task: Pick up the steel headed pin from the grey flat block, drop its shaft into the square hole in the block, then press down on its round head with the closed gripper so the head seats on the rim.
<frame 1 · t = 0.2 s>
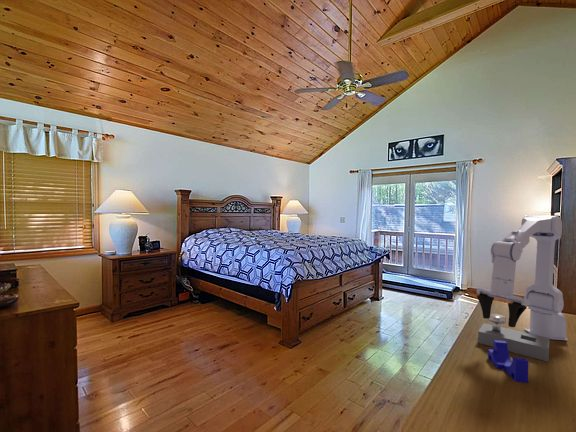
hand: (498, 322, 92), 10 cm above the table, tool pointing down, fingers open, 7 cm apart
grey flat block: (512, 346, 98), on the table
cable clip: (506, 370, 84), on the table
headed pin: (496, 330, 101), point 4 cm above the table, touching grey flat block
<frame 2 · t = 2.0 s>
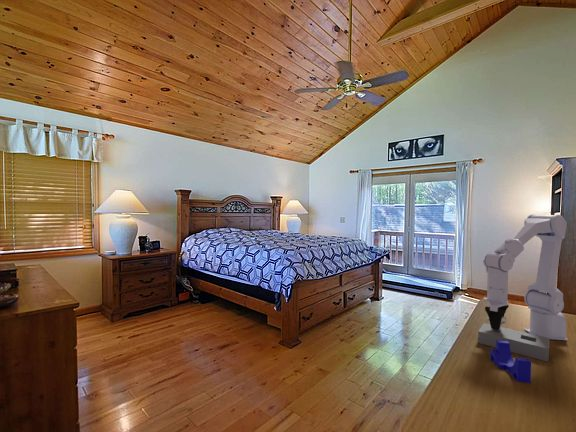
hand: (496, 326, 101), 5 cm above the table, tool pointing down, fingers closed on headed pin, 5 cm apart
headed pin: (496, 330, 101), point 4 cm above the table, touching gripper, grey flat block
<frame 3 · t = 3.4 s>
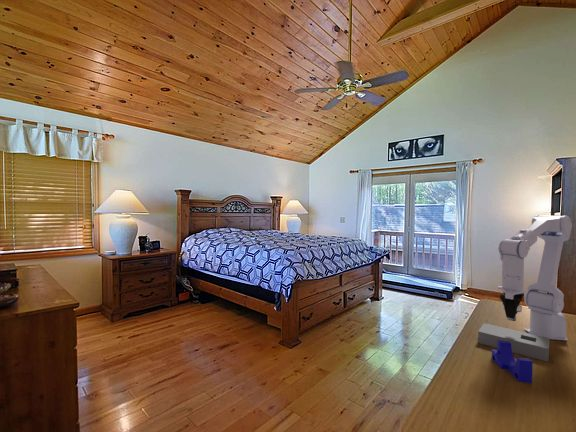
hand: (511, 315, 98), 10 cm above the table, tool pointing down, fingers closed on headed pin, 5 cm apart
headed pin: (511, 319, 98), point 9 cm above the table, touching gripper
when the fingers open (5 cm above the table, at t = 5.3 s): headed pin drops 3 cm, resting on grey flat block.
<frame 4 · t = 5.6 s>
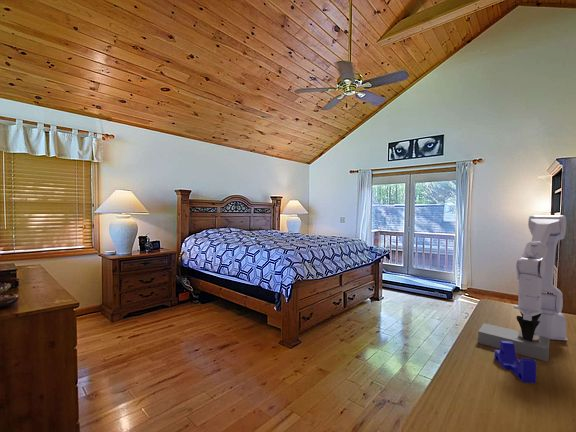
hand: (528, 336, 95), 5 cm above the table, tool pointing down, fingers open, 7 cm apart
headed pin: (528, 348, 95), resting on grey flat block
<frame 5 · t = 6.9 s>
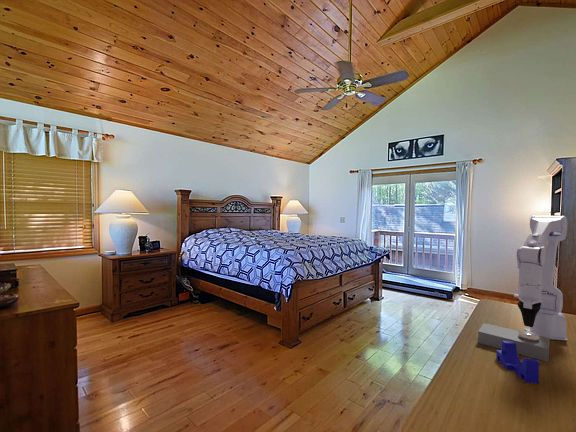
hand: (528, 325, 95), 8 cm above the table, tool pointing down, fingers closed
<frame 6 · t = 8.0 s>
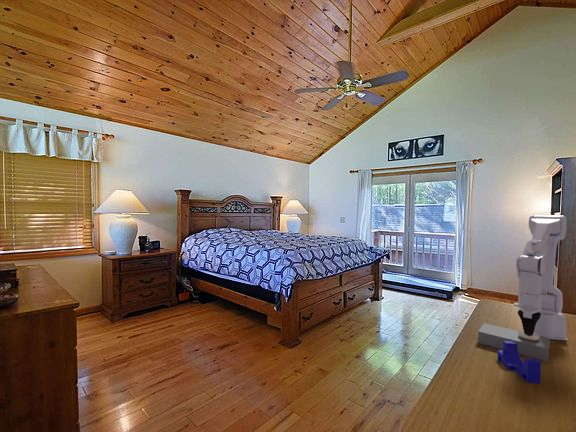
hand: (528, 334, 95), 5 cm above the table, tool pointing down, fingers closed, pressing on headed pin
headed pin: (528, 348, 95), resting on grey flat block, touching gripper
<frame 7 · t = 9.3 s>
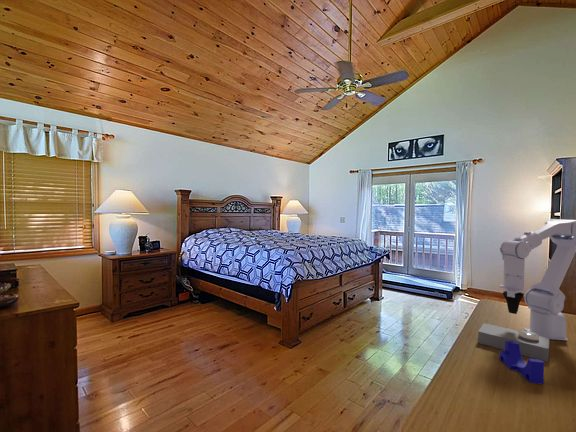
hand: (512, 313, 103), 9 cm above the table, tool pointing down, fingers closed
headed pin: (528, 348, 95), resting on grey flat block
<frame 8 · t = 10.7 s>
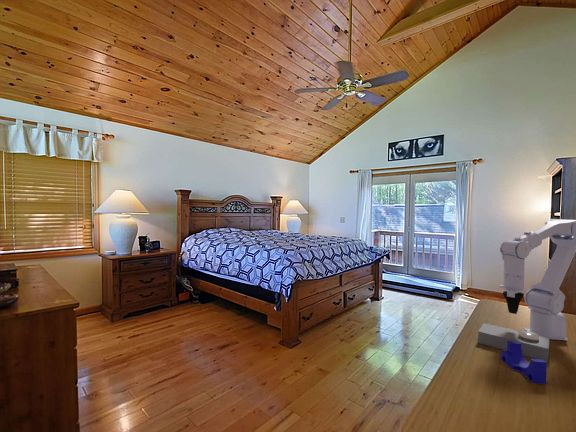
hand: (512, 312, 103), 9 cm above the table, tool pointing down, fingers closed
at the end: headed pin 0.1 cm from the target spot on the grey flat block, point 0.5 cm above the grey flat block's base; headed pin tilted 0°; the gripper is holding nothing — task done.
